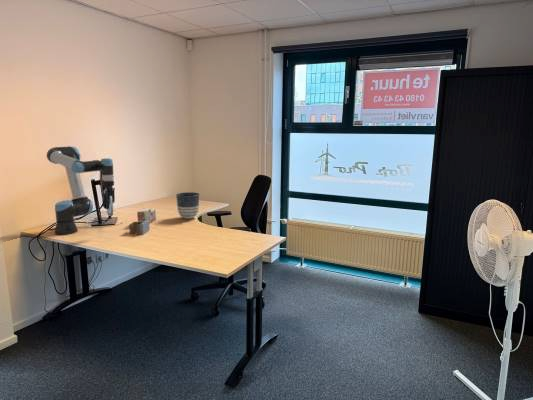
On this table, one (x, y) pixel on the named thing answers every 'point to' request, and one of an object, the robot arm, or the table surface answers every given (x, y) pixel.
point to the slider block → (135, 228)
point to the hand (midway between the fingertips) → (110, 212)
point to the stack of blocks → (146, 215)
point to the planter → (187, 204)
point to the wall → (144, 227)
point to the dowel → (111, 207)
